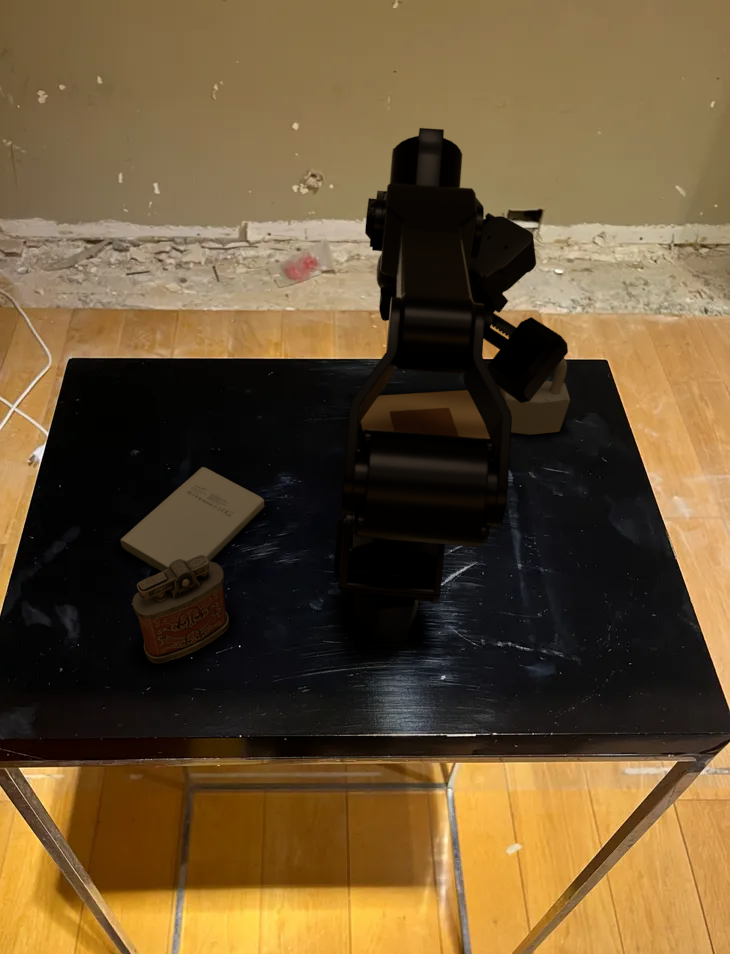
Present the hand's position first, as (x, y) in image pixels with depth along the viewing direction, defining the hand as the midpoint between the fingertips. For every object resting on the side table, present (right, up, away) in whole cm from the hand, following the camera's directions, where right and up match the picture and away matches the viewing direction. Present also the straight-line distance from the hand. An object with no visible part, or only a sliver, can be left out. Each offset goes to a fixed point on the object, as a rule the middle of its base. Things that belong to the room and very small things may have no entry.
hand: (500, 353), depth 81 cm
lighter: (-30, -27, -6) cm, 41 cm away
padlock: (+6, -5, +14) cm, 16 cm away
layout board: (-6, -6, +12) cm, 15 cm away
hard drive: (-30, -17, +2) cm, 35 cm away
